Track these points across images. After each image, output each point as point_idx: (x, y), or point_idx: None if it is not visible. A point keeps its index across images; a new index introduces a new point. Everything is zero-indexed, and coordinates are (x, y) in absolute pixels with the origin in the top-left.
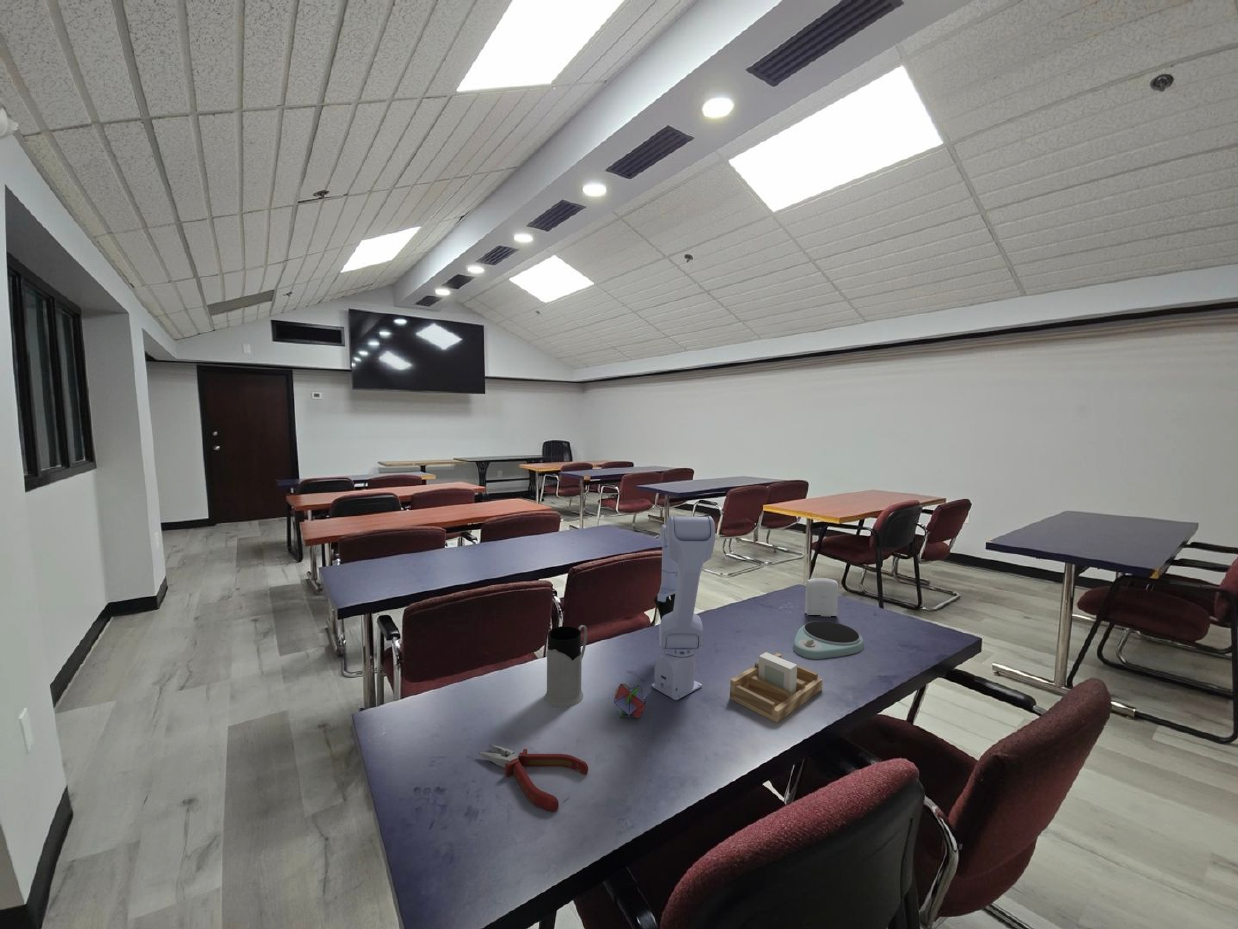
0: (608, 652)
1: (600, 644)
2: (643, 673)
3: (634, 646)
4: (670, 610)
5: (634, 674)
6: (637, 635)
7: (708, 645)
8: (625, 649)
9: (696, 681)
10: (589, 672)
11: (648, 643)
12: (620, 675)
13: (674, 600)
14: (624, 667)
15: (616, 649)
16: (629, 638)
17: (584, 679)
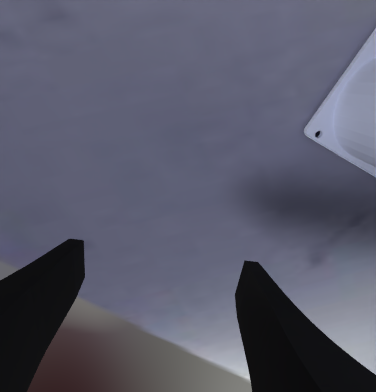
0: (226, 325)
1: (192, 349)
2: (317, 227)
3: (167, 285)
4: (349, 356)
5: (328, 246)
6: (98, 295)
7: (31, 64)
8: (195, 299)
9: (368, 46)
10: (337, 331)
11: (131, 259)
12: (340, 273)
13: (30, 352)
14: (295, 276)
15: (203, 316)
16: (127, 307)
17: (371, 330)
